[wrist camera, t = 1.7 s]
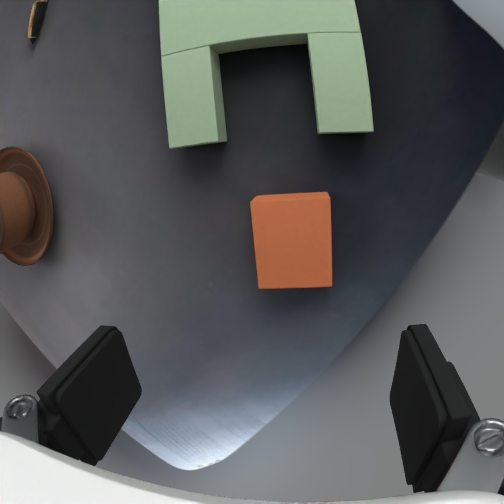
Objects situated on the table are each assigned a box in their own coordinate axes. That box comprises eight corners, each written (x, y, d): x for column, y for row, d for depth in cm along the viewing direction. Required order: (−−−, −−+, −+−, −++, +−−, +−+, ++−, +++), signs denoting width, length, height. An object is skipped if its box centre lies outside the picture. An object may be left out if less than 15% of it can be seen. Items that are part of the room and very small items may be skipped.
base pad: (334, -55, 15) (335, -70, 12) (366, 132, 20) (373, 131, 17) (169, -32, 17) (157, -44, 15) (182, 147, 22) (169, 148, 20)
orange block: (327, 191, 22) (330, 197, 19) (330, 272, 23) (332, 287, 21) (255, 195, 22) (249, 201, 20) (263, 274, 24) (258, 289, 22)
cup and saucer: (3, 254, 29) (-34, 273, 23) (-9, 151, 25) (-51, 160, 19) (71, 265, 27) (29, 291, 22) (60, 138, 23) (10, 143, 18)
